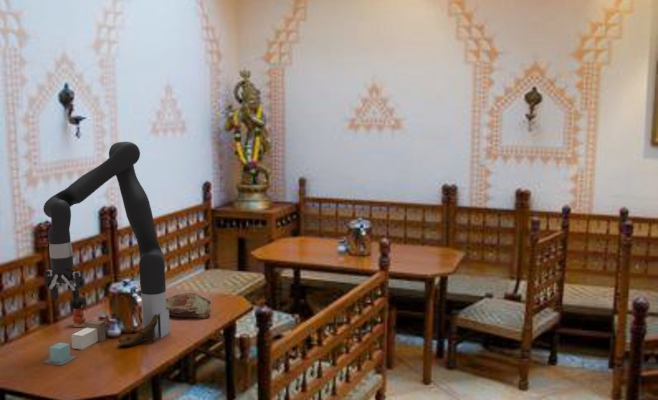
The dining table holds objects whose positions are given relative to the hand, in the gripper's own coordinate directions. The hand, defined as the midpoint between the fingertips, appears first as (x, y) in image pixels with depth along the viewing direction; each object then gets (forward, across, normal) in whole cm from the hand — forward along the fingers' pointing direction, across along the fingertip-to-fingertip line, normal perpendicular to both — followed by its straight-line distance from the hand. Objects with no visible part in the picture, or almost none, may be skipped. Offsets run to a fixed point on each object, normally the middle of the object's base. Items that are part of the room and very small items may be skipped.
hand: (65, 299), depth 255 cm
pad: (+20, -1, +7) cm, 21 cm away
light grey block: (+20, 0, -10) cm, 23 cm away
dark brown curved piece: (+21, -18, -15) cm, 32 cm away
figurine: (+20, +16, -27) cm, 37 cm away
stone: (+21, -18, -53) cm, 60 cm away
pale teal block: (+20, -1, +7) cm, 21 cm away
